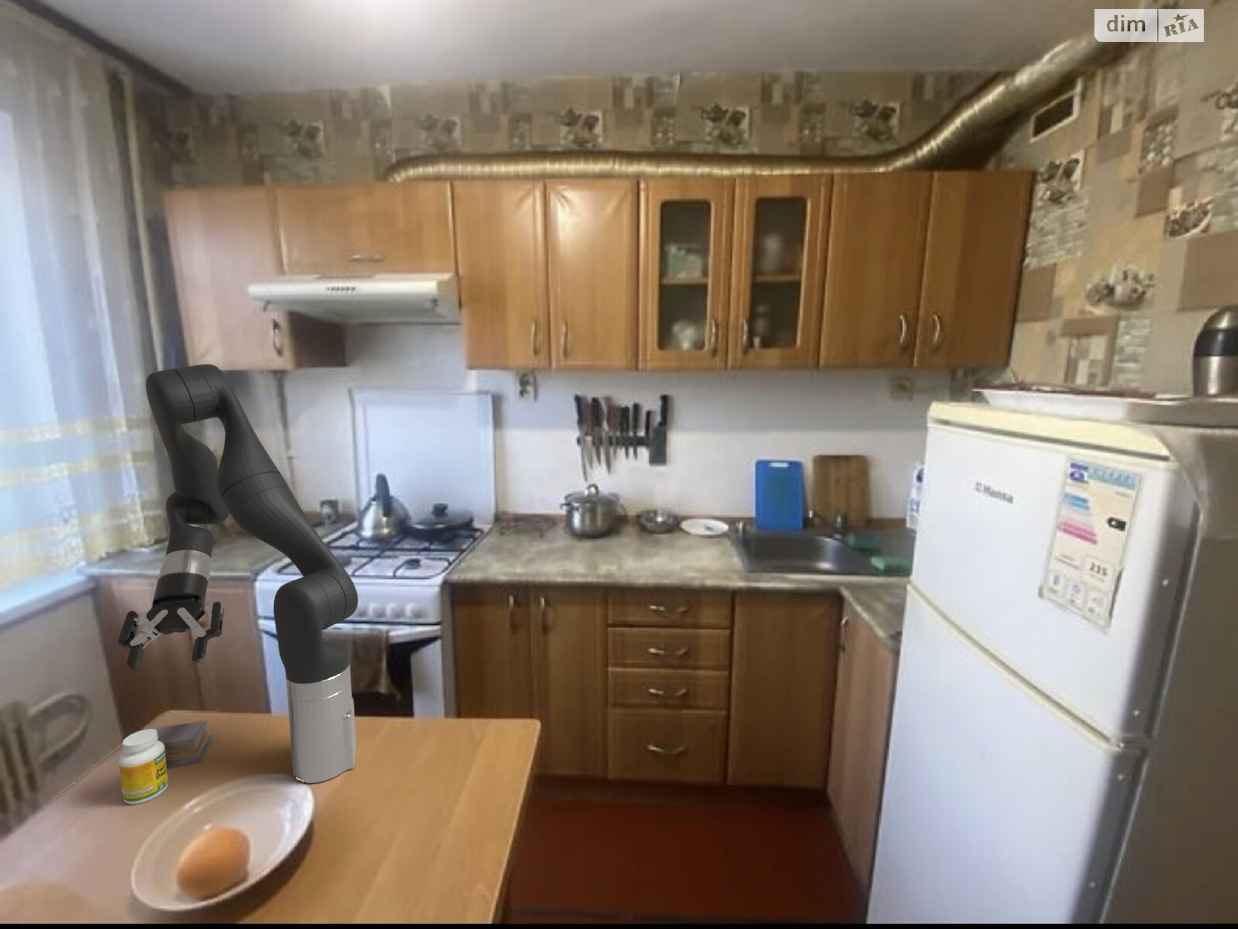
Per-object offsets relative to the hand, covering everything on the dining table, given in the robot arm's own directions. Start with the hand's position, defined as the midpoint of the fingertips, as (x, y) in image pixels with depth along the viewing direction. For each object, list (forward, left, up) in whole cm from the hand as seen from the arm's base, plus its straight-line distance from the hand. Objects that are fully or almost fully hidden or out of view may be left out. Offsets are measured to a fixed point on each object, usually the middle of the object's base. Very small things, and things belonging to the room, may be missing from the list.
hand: (165, 665), depth 92 cm
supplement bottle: (0, +12, -16) cm, 19 cm away
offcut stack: (-1, +3, -15) cm, 16 cm away
